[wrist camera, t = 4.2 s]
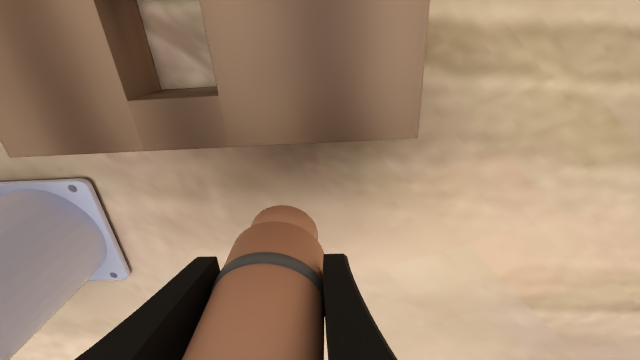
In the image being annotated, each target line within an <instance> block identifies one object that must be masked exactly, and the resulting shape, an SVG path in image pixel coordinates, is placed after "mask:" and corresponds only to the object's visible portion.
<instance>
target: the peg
mask: <svg viewBox="0 0 640 360" xmlns="http://www.w3.org/2000/svg"><path fill="white" fill-rule="evenodd" d="M317 238H318V233H317V228H316V225H315V223H314V222H313V220H312V219H311V218H310V217H309V216H308V215H307V214H306V213H305V212H303V211H301V210H299V209H297V208H295V207H291V206H273V207H270V208H267V209H265V210H263V211H262V212H260V213H259V214H258V215H257V216H256V217H255V219H254V221H253V223H252V225H251V227H250V228H248V229H247V230H245V231H244V232H243V233H241V234H240V236H239V237H238V238H237V240H236V241H235V243H234V245H233V247H232V250H231V252H230V254H229V256H228V259H227V261H226V263H225V265H224V267H223V269H222V270H221V271H220V273H219V275H218V276H217V279H216V281H215V283H214V285H213V287H212V290H211V294H210V298H209V301H208V303H207V305H206V307H205V309H204V312H203V314H202V316H201V318H200V321H199V323H198V325H197V327H196V329H195V332H194V334H193V336H192V338H191V340H190V343H189V345H188V347H187V349H186V352H185V354H184V356H183V358H182V360H324V317H325V305H324V288H323V254H324V252H323V249H322V247H321V245H320V244H319V242H318V241H317Z"/></svg>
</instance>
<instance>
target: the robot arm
mask: <svg viewBox="0 0 640 360" xmlns="http://www.w3.org/2000/svg"><path fill="white" fill-rule="evenodd" d="M73 185H74V186H75V187H76V188H77V189H76V188H75V187H74V186H73ZM219 273H220V268H219V265H218V261H217V257H197V258H196V259H194V260H193V261H192V262H191V263H190V264H189V265H187V266H186V267H185V268H184V269H183V270H182V271H181V272H179V273H178V274H177V275H176V276H175V277H174V278H173V279H172V280H171V281H169V282H168V283H167V284H166V285H165V286H164V287H163V288H162V289H160V290H159V291H158V292H157V293H156V294H155V295H154V296H152V297H151V298H150V299H149V300H148V301H147V302H146V303H144V304H143V305H142V306H141V307H140V308H139V309H137V310H136V311H135V312H134V313H133V314H131V315H130V316H129V317H128V318H127V319H125V320H124V321H123V322H122V323H120V324H119V325H118V326H117V327H115V328H114V329H113V330H112V331H111V332H109V333H108V334H107V335H106V336H104V337H103V338H102V339H101V340H100V341H98V342H97V343H96V344H94V345H93V346H92V347H91V348H89V349H88V350H87V351H85V352H84V353H83V354H81V355H80V356H79V357H77V358H76V359H75V360H182V358H183V356H184V354H185V352H186V349H187V347H188V345H189V343H190V340H191V338H192V336H193V334H194V332H195V329H196V327H197V325H198V323H199V321H200V318H201V316H202V314H203V312H204V309H205V307H206V305H207V303H208V301H209V298H210V294H211V290H212V287H213V285H214V283H215V281H216V279H217V276H218V275H219ZM129 275H130V270H129V268H128V266H127V263H126V261H125V259H124V256H123V254H122V252H121V250H120V247H119V245H118V243H117V241H116V238H115V236H114V234H113V231H112V229H111V227H110V225H109V222H108V220H107V218H106V216H105V213H104V211H103V209H102V206H101V204H100V202H99V200H98V197H97V195H96V193H95V191H94V188H93V186H92V184H91V183H90V182H89V181H88V180H86V179H82V178H79V179H56V180H33V181H10V182H0V360H10V359H11V358H12V356H13V355H14V354H15V353H16V352H17V351H18V350H19V349H20V348H21V347H22V346H23V345H24V344H25V343H26V342H27V341H28V340H29V339H30V338H31V337H32V336H33V335H34V334H35V333H36V332H37V331H38V330H39V329H40V328H41V327H42V326H43V325H44V324H45V323H46V322H47V321H48V320H49V319H50V318H51V317H52V316H53V315H54V314H55V313H56V312H57V311H58V310H59V309H60V308H61V307H62V306H63V305H64V304H65V303H66V302H67V301H68V300H69V299H70V298H71V297H72V296H73V295H74V294H75V293H76V292H77V290H78V289H79V288H80V287H81V286H82V285H83V284H84V283H85V282H86V281H93V280H124V279H127V278H128V277H129ZM323 288H324V305H325V322H326V338H327V349H328V360H397V358H396V357H395V355H394V354H393V352H392V350H391V349H390V347H389V346H388V344H387V342H386V341H385V339H384V337H383V335H382V334H381V332H380V330H379V329H378V327H377V325H376V323H375V321H374V320H373V318H372V316H371V314H370V312H369V310H368V308H367V306H366V304H365V302H364V300H363V298H362V296H361V294H360V292H359V290H358V287H357V285H356V283H355V280H354V278H353V275H352V272H351V270H350V267H349V263H348V259H347V256H346V255H344V254H323Z"/></svg>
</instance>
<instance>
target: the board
mask: <svg viewBox="0 0 640 360" xmlns="http://www.w3.org/2000/svg"><path fill="white" fill-rule="evenodd" d="M199 1H200V6H201V11H202V16H203V21H204V26H205V31H206V35H207V40H208V45H209V50H210V55H211V60H212V65H213V70H214V75H215V80H216V85H217V87H204V88H186V89H169V90H161V88H160V85H159V81H158V77H157V74H156V70H155V67H154V63H153V60H152V56H151V53H150V49H149V46H148V42H147V39H146V35H145V32H144V28H143V24H142V21H141V17H140V14H139V10H138V7H137V3H136V0H0V141H1V143H2V144H3V146H4V148H5V150H6V152H7V153H8V155H9V157H30V156H51V155H72V154H93V153H114V152H135V151H156V150H177V149H198V148H219V147H240V146H261V145H282V144H303V143H324V142H345V141H366V140H387V139H408V138H418V128H419V117H420V105H421V94H422V82H423V71H424V60H425V48H426V37H427V25H428V14H429V3H430V0H199Z"/></svg>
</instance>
